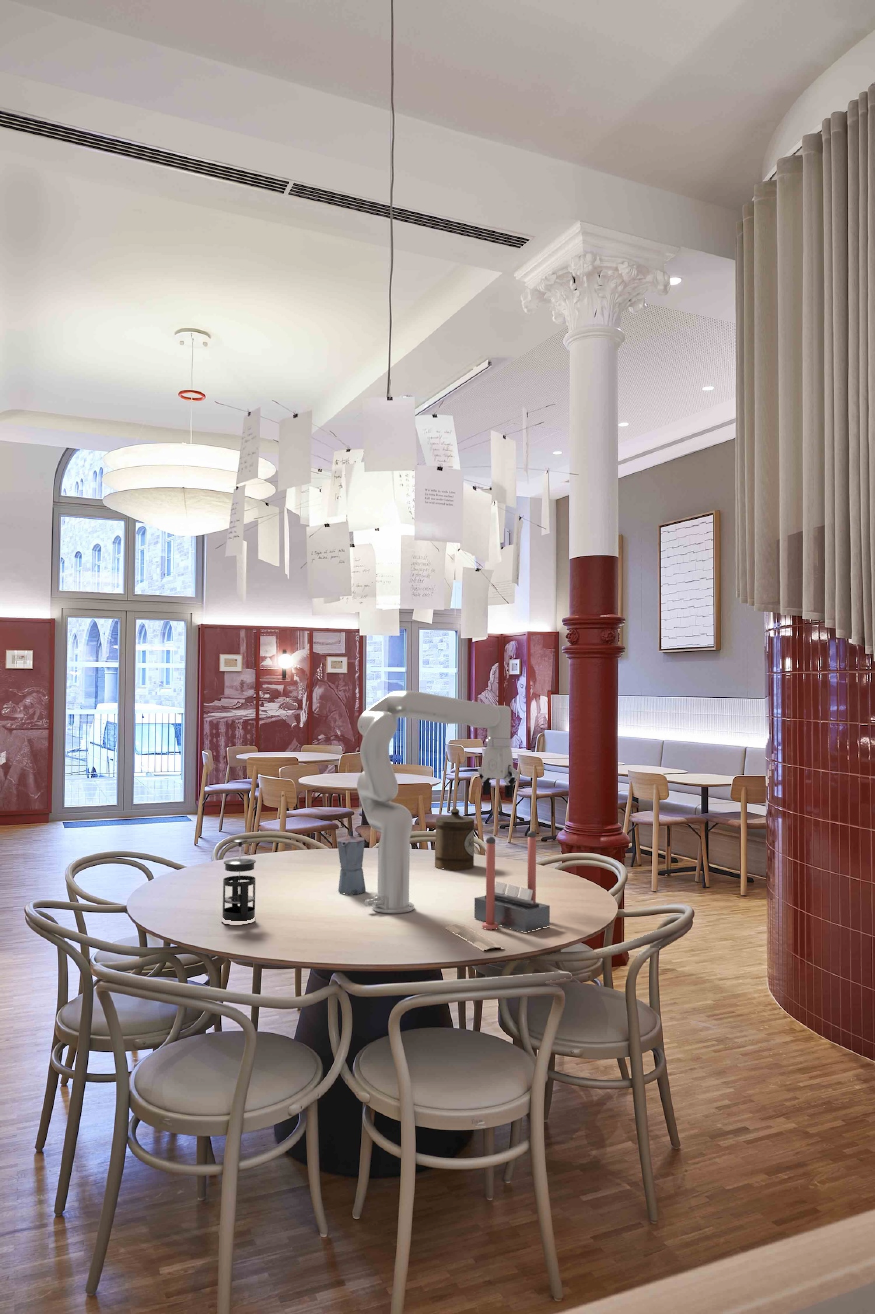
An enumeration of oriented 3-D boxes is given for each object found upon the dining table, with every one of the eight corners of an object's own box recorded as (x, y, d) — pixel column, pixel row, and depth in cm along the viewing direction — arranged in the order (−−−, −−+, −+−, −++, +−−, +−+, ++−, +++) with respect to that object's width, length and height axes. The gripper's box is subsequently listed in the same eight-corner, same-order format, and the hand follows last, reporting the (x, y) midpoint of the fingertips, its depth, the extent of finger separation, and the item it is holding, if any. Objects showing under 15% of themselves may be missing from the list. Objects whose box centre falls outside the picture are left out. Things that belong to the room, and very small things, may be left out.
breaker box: (525, 933, 233) (525, 908, 233) (474, 918, 248) (474, 895, 248) (549, 927, 240) (549, 903, 240) (498, 913, 255) (498, 890, 255)
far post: (532, 920, 246) (532, 832, 247) (520, 917, 250) (521, 830, 251) (542, 918, 249) (542, 830, 250) (531, 915, 252) (531, 829, 254)
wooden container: (477, 870, 319) (477, 810, 320) (437, 870, 317) (438, 811, 318) (470, 862, 334) (470, 805, 335) (432, 863, 332) (433, 806, 333)
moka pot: (329, 895, 275) (330, 833, 276) (346, 885, 290) (346, 826, 291) (357, 897, 273) (358, 834, 274) (372, 887, 288) (373, 827, 289)
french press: (217, 918, 245) (219, 837, 246) (249, 915, 250) (251, 835, 251) (227, 928, 235) (229, 844, 236) (261, 924, 239) (262, 841, 240)
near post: (490, 931, 235) (490, 838, 236) (479, 927, 238) (479, 836, 240) (501, 928, 238) (501, 836, 239) (490, 925, 241) (490, 834, 242)
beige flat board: (504, 952, 217) (504, 945, 217) (479, 956, 214) (480, 948, 215) (465, 929, 239) (465, 923, 239) (441, 932, 236) (441, 925, 236)
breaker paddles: (530, 903, 238) (533, 890, 239) (489, 893, 250) (492, 880, 251) (533, 904, 238) (536, 891, 239) (492, 894, 250) (496, 881, 251)
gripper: (471, 742, 283) (470, 794, 282) (510, 744, 271) (509, 799, 270) (487, 742, 288) (486, 793, 287) (526, 744, 276) (525, 798, 275)
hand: (497, 796), depth 278 cm, fingers open, 9 cm apart
